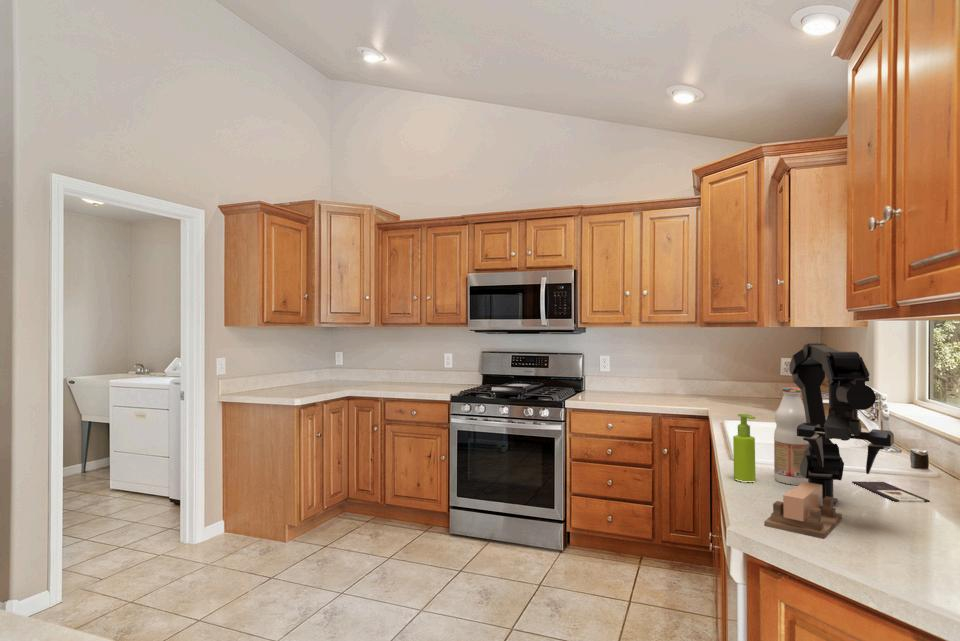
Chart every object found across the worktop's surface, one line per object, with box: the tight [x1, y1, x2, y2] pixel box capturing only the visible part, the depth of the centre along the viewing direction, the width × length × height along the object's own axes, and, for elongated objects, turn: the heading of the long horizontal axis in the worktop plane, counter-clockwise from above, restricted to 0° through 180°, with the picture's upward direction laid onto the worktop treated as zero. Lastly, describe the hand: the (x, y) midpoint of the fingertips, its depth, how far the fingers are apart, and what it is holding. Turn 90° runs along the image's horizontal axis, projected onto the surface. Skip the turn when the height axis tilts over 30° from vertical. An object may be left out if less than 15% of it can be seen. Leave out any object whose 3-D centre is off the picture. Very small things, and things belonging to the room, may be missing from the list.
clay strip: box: [782, 482, 823, 521], centre depth 130 cm, size 16×4×5 cm, turn 135°
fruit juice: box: [773, 386, 809, 486], centre depth 165 cm, size 9×9×28 cm
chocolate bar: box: [851, 480, 931, 503], centre depth 154 cm, size 9×1×18 cm
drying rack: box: [763, 496, 843, 539], centre depth 130 cm, size 18×12×5 cm, turn 136°
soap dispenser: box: [732, 413, 756, 482], centre depth 166 cm, size 6×7×20 cm
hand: (844, 470), depth 131 cm, fingers open, 9 cm apart
